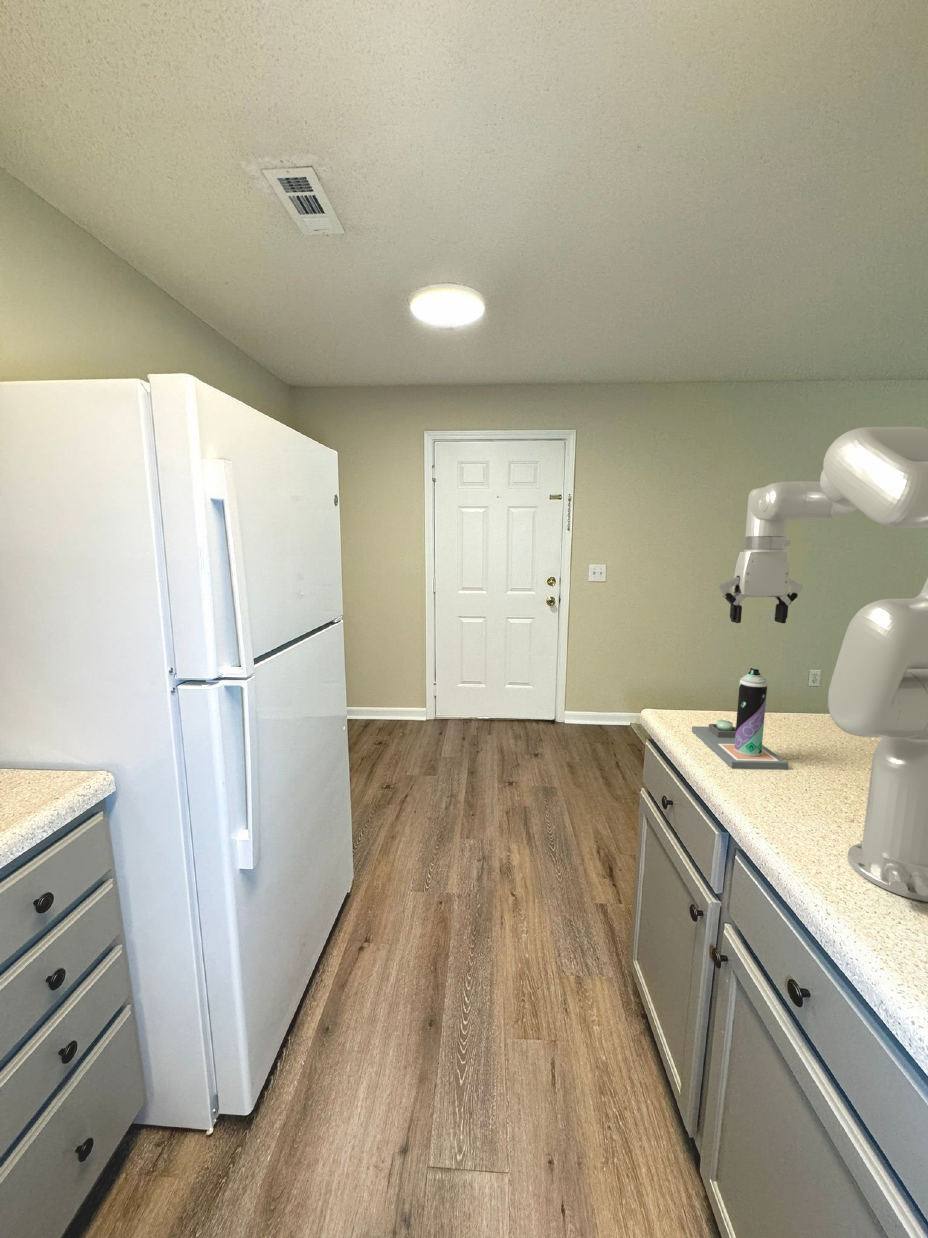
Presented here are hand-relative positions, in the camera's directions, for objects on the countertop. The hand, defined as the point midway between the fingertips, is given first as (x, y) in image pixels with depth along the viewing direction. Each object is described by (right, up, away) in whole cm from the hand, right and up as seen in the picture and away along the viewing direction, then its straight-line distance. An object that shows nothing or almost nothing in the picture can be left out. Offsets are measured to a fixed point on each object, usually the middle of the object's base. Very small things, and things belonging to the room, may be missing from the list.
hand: (757, 622), depth 110 cm
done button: (+1, -27, +16) cm, 31 cm away
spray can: (0, -31, +4) cm, 31 cm away
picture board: (0, -31, +10) cm, 33 cm away
